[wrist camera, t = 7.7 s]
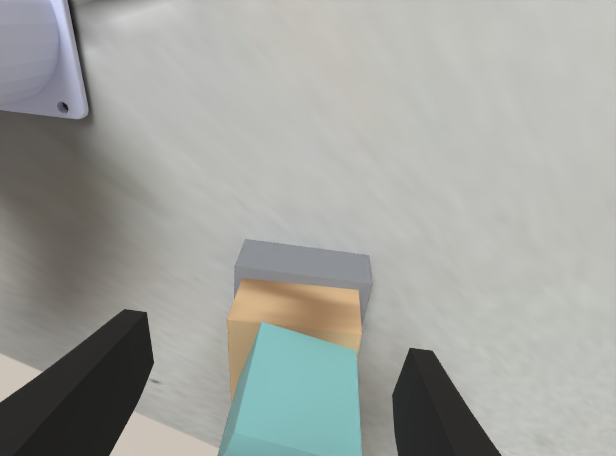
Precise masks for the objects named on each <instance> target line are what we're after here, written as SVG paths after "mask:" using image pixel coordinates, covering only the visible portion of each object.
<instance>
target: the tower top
mask: <svg viewBox="0 0 616 456" xmlns="http://www.w3.org/2000/svg"><path fill="white" fill-rule="evenodd" d="M261 322H265V323H268V324H272V325H275V326H278V327H282V328H285V329H288V330H291V331H295V332H298V333H301V334H304V335H308V336H311V337H314V338H317V339H321V340H324V341H327V342H330V343H334V344H337V345H340V346H343V347H347V348H350V349H353V350H356V355H357V356H358V351H359V346H360V341H361V336H362V327H361V314H360V300H359V290H354V289H344V288H334V287H325V286H315V285H305V284H295V283H286V282H276V281H266V280H256V279H247V278H242V280H241V283H240V285H239V288H238V291H237V294H236V296H235V299H234V302H233V305H232V307H231V310H230V313H229V316H228V318H227V329H228V348H229V367H230V386H231V404H232V401H233V397H234V393H235V390H236V386H237V382H238V380H239V377H240V375H241V372H242V370H243V367H244V365H245V362H246V360H247V357H248V355H249V352H250V350H251V347H252V345H253V342H254V340H255V337H256V335H257V332H258V330H259V327H260V324H261Z"/></svg>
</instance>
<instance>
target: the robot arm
mask: <svg viewBox="0 0 616 456" xmlns="http://www.w3.org/2000/svg"><path fill="white" fill-rule="evenodd" d="M63 102H64V103H65V104H66V105H67V106H68V108H69V109H68V111H67V110H66V109H65V108H64V107H63ZM0 110H4V111H12V112H20V113H28V114H36V115H44V116H52V117H61V118H69V119H82V118H84V117H86V116H87V115H88V103H87V98H86V93H85V88H84V83H83V78H82V73H81V67H80V62H79V57H78V52H77V47H76V42H75V37H74V31H73V26H72V21H71V16H70V11H69V6H68V1H67V0H0ZM153 364H154V360H153V353H152V346H151V339H150V332H149V325H148V318H147V312H141V311H134V310H127V309H124V310H123V311H121V312H120V313H119V314H118V315H116V316H115V317H114V318H112V319H111V320H110V321H108V322H107V323H106V324H105V325H103V326H102V327H101V328H100V329H98V330H97V331H96V332H95V333H93V334H92V335H91V336H90V337H88V338H87V339H86V340H84V341H83V342H82V343H81V344H79V345H78V346H77V347H76V348H74V349H73V350H72V351H70V352H69V353H68V354H66V355H65V356H64V357H62V358H61V359H60V360H58V361H57V362H56V363H55V364H53V365H52V366H51V367H49V368H48V369H47V370H45V371H44V372H43V373H41V374H40V375H39V376H37V377H36V378H34V379H33V380H32V381H30V382H29V383H27V384H26V385H24V386H23V387H22V388H20V389H19V390H17V391H16V392H15V393H13V394H12V395H10V396H9V397H7V398H6V399H5V400H3V401H2V402H0V456H109V455H110V453H111V451H112V450H113V448H114V446H115V444H116V442H117V440H118V439H119V437H120V435H121V433H122V431H123V429H124V427H125V425H126V424H127V422H128V420H129V418H130V416H131V414H132V413H133V411H134V409H135V407H136V405H137V403H138V401H139V399H140V397H141V394H142V392H143V389H144V387H145V385H146V382H147V380H148V377H149V374H150V372H151V369H152V367H153ZM392 398H393V417H394V430H395V439H396V445H397V451H398V456H501V454H500V453H499V451H498V450H497V449H496V447H495V446H494V444H493V443H492V442H491V440H490V439H489V437H488V436H487V434H486V433H485V431H484V430H483V428H482V427H481V426H480V424H479V423H478V421H477V420H476V418H475V417H474V415H473V414H472V412H471V411H470V409H469V408H468V406H467V405H466V403H465V402H464V400H463V398H462V397H461V395H460V394H459V392H458V391H457V389H456V387H455V386H454V384H453V383H452V381H451V380H450V378H449V376H448V375H447V373H446V371H445V370H444V368H443V367H442V365H441V363H440V362H439V360H438V359H437V357H436V355H435V354H434V352H433V351H430V350H423V349H415V348H410V349H409V352H408V354H407V357H406V360H405V362H404V365H403V368H402V371H401V373H400V376H399V379H398V381H397V384H396V387H395V389H394V392H393V395H392Z"/></svg>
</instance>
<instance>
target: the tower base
mask: <svg viewBox="0 0 616 456" xmlns="http://www.w3.org/2000/svg"><path fill="white" fill-rule="evenodd" d="M242 278H247V279H256V280H266V281H276V282H286V283H295V284H305V285H315V286H325V287H334V288H344V289H354V290H359V300H360V314H361V327H362V323H363V319H364V315H365V311H366V307H367V303H368V300H369V296H370V292H371V288H372V277H371V269H370V261H369V255H363V254H355V253H348V252H340V251H332V250H325V249H317V248H309V247H302V246H294V245H286V244H279V243H271V242H264V241H256V240H248V239H246V240H245V242H244V244H243V247H242V249H241V252H240V254H239V256H238V259H237V261H236V264H235V280H234V299H235V296H236V294H237V291H238V288H239V285H240V283H241V280H242Z"/></svg>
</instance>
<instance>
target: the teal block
mask: <svg viewBox="0 0 616 456" xmlns="http://www.w3.org/2000/svg"><path fill="white" fill-rule="evenodd" d="M218 456H362V445H361V427H360V409H359V391H358V373H357V355H356V350H353V349H350V348H347V347H343V346H340V345H337V344H334V343H330V342H327V341H324V340H321V339H317V338H314V337H311V336H308V335H304V334H301V333H298V332H295V331H291V330H288V329H285V328H282V327H278V326H275V325H272V324H268V323H265V322H261V324H260V327H259V330H258V332H257V335H256V337H255V340H254V342H253V345H252V347H251V350H250V352H249V355H248V357H247V360H246V362H245V365H244V367H243V370H242V372H241V375H240V377H239V380H238V382H237V386H236V390H235V393H234V397H233V401H232V404H231V408H230V412H229V415H228V419H227V423H226V426H225V430H224V434H223V437H222V441H221V445H220V449H219V452H218Z"/></svg>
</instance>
